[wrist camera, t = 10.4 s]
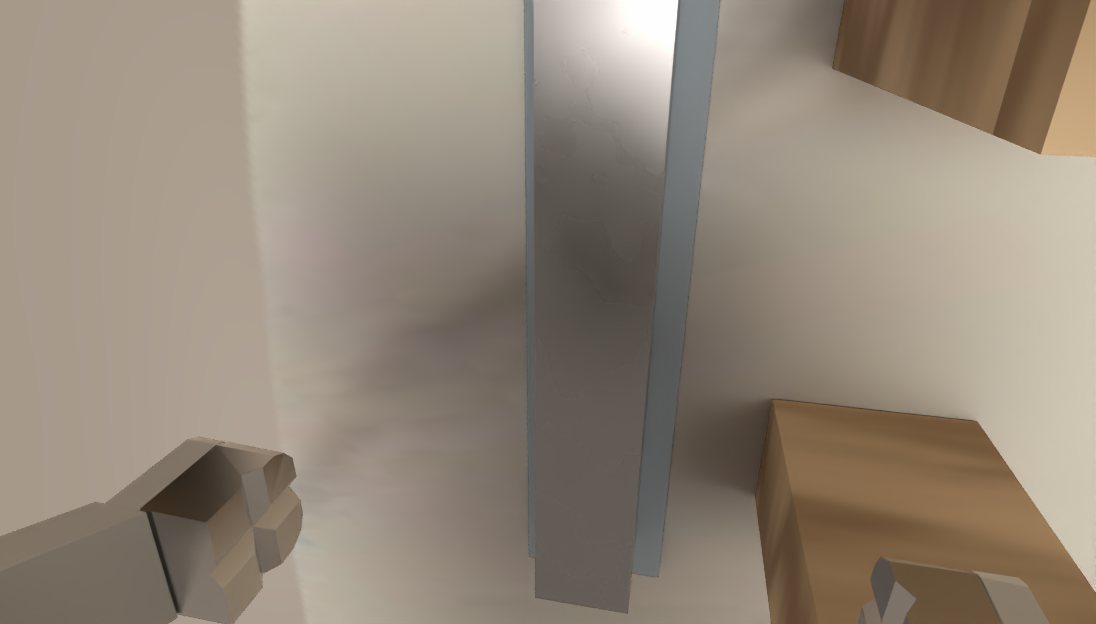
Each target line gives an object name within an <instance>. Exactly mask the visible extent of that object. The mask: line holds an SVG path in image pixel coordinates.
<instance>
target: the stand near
mask: <svg viewBox="0 0 1096 624" xmlns="http://www.w3.org/2000/svg"><path fill="white" fill-rule="evenodd" d="M833 69H835V70H838V71H840V72H843V73H845V74H847V75H850V76H852V77H855V78H857V79H859V80H862V81H864V82H867V83H869V84H871V85H874V86H876V87H879V88H881V89H884V90H886V91H888V92H891V93H893V94H896V95H898V96H900V97H903V98H905V99H908V100H910V101H913V102H915V103H917V104H920V105H922V106H925V107H927V108H929V109H932V110H934V111H937V112H939V113H941V114H944V115H946V116H949V117H951V118H954V119H956V120H958V121H961V122H963V123H966V124H968V125H970V126H973V127H975V128H978V129H980V130H983V131H985V132H987V133H990V134H992V135H995V136H997V137H999V138H1002V139H1004V140H1007V141H1009V142H1011V143H1014V144H1016V145H1019V146H1021V147H1024V148H1026V149H1028V150H1031V151H1033V152H1036V153H1038V154H1040V155H1063V156H1087V157H1096V0H845V2H844V8H843V13H842V19H841V24H840V30H839V35H838V41H837V46H836V52H835V57H834V63H833Z"/></svg>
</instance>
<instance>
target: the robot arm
mask: <svg viewBox="0 0 1096 624" xmlns="http://www.w3.org/2000/svg"><path fill="white" fill-rule="evenodd" d="M295 478H296V472H295V467H294V463H293V458H292V457H290V456H288V455H286V454H285V453H282V452H277V451H272V450H267V449H261V448H256V447H252V446H247V445H242V444H236V443H231V442H222V441H218V440H213V439H208V438H203V437H196V438H192V439H187V440H186V441H185V442H183V443H182V444H181V445H180V446H178V447H177V448H176V449H174V450H173V451H172V452H171V453H169V454H168V455H167V456H165V457H164V458H163V459H162V460H160V461H159V462H158V463H156V464H155V465H154V466H152V467H151V468H150V469H149V470H147V471H146V472H145V473H143V474H142V475H141V476H140V477H138V478H137V479H136V480H135V481H133V482H132V483H131V484H129V485H128V486H127V487H125V488H124V489H123V490H122V491H120V492H119V493H118V494H117V495H115V496H114V497H113V498H111V499H110V500H109V501H108V502H106V503H105V504H104V503H99V502H94V503H91V504H88V505H85V506H83V507H80V508H77V509H75V510H72V511H69V512H66V513H63V514H61V515H58V516H55V517H52V518H50V519H47V520H44V521H41V522H38V523H36V524H33V525H30V526H27V527H25V528H22V529H19V530H16V531H13V532H11V533H8V534H5V535H3V536H0V624H168V623H170V622H172V621H173V620H175V619H176V618H177V614H178V615H183V616H188V617H193V618H198V619H203V620H208V621H213V622H218V623H223V624H233V623H234V622H235V621H236V620H237V619H238V617H239V616H240V615H241V614H242V613H243V611H244V610H245V609H246V608H247V606H248V605H249V604H250V603H251V601H252V600H253V599H254V598H255V597H256V595H257V594H258V592H260V590H261V589H262V588H263V573H265V572H267V571H269V570H271V569H273V568H275V567H277V566H278V565H280V564H282V563H283V562H284V560H285V559H286V558H287V556H288V555H289V554H290V552H291V551H292V550H293V548H294V546H295V544H296V541H297V539H298V536H299V534H300V531H301V527H302V516H303V512H302V506H301V500H300V499H299V498H298V496H297V495H296V494H295V493H294V492H293V490H292V489H291V488H290V487H289V486H290V485H291V483H292V482H293V481H294V479H295ZM870 581H871V585H872V589H873V592H874V596H875V598H874V599H873V600H871V601H869V602H868V603H866V604H865V605H863V606H862V608H861V612H860V616H859V620H858V624H1049V622H1048V620H1047V618H1046V617H1045V615H1044V613H1043V611H1042V610H1041V608H1040V606H1039V604H1038V603H1037V601H1036V599H1035V597H1034V596H1033V594H1032V592H1031V590H1030V589H1029V587H1028V585H1027V584H1026V583H1024V582H1023V581H1022V580H1021V579H1019V578H1017V577H1011V576H1004V575H998V574H991V573H985V572H978V571H966V570H961V569H955V568H949V567H943V566H937V565H931V564H925V563H919V562H913V561H907V560H901V559H895V558H889V557H883V556H881V557H880V558H879V559H878V561H877V562H876V564H875V566H874V569H873V572H872V575H871V578H870Z"/></svg>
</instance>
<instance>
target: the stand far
mask: <svg viewBox="0 0 1096 624" xmlns="http://www.w3.org/2000/svg"><path fill="white" fill-rule="evenodd" d="M755 499H756V507H757V515H758V523H759V531H760V539H761V546H762V554H763V562H764V570H765V578H766V586H767V594H768V602H769V609H770V617H771V624H858V620H859V616H860V612H861V608H862V606H863V605H865V604H866V603H868V602H869V601H871V600H873V599H874V598H875V596H874V592H873V589H872V585H871V581H870V578H871V575H872V572H873V569H874V566H875V564H876V562H877V561H878V559H879V558H880V557H881V556H883V557H889V558H895V559H901V560H907V561H913V562H919V563H925V564H931V565H937V566H943V567H949V568H955V569H961V570H966V571H978V572H985V573H991V574H998V575H1004V576H1011V577H1017V578H1019V579H1021V580H1022V581H1023V582H1024V583H1026V584H1027V585H1028V587H1029V589H1030V590H1031V592H1032V594H1033V596H1034V597H1035V599H1036V601H1037V603H1038V604H1039V606H1040V608H1041V610H1042V611H1043V613H1044V615H1045V617H1046V618H1047V620H1048V622H1049V624H1096V592H1095V591H1094V590H1093V588H1092V587H1091V585H1090V584H1089V582H1088V581H1087V579H1086V578H1085V577H1084V575H1083V574H1082V572H1081V571H1080V569H1079V568H1078V566H1077V565H1076V564H1075V562H1074V561H1073V559H1072V558H1071V556H1070V555H1069V553H1068V552H1067V551H1066V549H1065V548H1064V546H1063V545H1062V543H1061V542H1060V540H1059V539H1058V538H1057V536H1056V535H1055V533H1054V532H1053V530H1052V529H1051V527H1050V526H1049V524H1048V523H1047V522H1046V520H1045V519H1044V517H1043V516H1042V514H1041V513H1040V511H1039V510H1038V509H1037V507H1036V506H1035V504H1034V503H1033V501H1032V500H1031V498H1030V497H1029V496H1028V494H1027V493H1026V491H1025V490H1024V488H1023V487H1022V485H1021V484H1020V483H1019V481H1018V480H1017V478H1016V477H1015V475H1014V474H1013V472H1012V471H1011V470H1010V468H1009V467H1008V465H1007V464H1006V462H1005V461H1004V459H1003V458H1002V456H1001V455H1000V454H999V452H998V451H997V449H996V448H995V446H994V445H993V443H992V442H991V441H990V439H989V438H988V436H987V435H986V433H985V432H984V430H983V429H982V428H981V426H980V425H979V423H978V422H977V421H968V420H959V419H950V418H941V417H932V416H922V415H913V414H904V413H895V412H886V411H877V410H868V409H858V408H849V407H840V406H831V405H822V404H813V403H804V402H795V401H785V400H776V399H773V401H772V406H771V412H770V417H769V423H768V428H767V434H766V439H765V445H764V450H763V456H762V462H761V467H760V473H759V478H758V484H757V489H756V495H755Z"/></svg>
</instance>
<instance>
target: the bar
mask: <svg viewBox="0 0 1096 624" xmlns="http://www.w3.org/2000/svg"><path fill="white" fill-rule="evenodd" d="M680 7H681V0H534V289H535V598H540V599H546V600H552V601H557V602H563V603H569V604H575V605H580V606H586V607H592V608H598V609H604V610H609V611H615V612H621V613H627V614H628V606H629V597H630V588H631V579H632V569H633V560H634V551H635V542H636V532H637V520H638V508H639V496H640V485H641V473H642V461H643V449H644V437H645V425H646V413H647V401H648V389H649V377H650V365H651V353H652V341H653V329H654V318H655V306H656V294H657V282H658V270H659V258H660V246H661V234H662V222H663V210H664V198H665V186H666V174H667V163H668V151H669V139H670V127H671V115H672V103H673V91H674V79H675V67H676V55H677V43H678V31H679V19H680Z"/></svg>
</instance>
